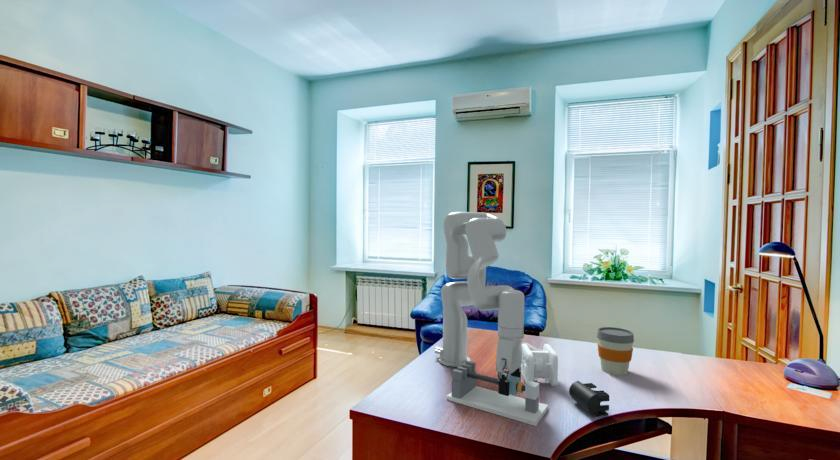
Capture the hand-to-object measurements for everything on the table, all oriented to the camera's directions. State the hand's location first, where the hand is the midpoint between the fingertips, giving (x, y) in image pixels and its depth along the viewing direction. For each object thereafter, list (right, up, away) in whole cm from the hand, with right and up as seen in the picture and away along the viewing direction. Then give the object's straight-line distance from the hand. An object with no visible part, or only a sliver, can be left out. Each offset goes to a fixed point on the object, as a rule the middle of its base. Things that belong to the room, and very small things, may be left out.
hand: (509, 388), depth 118 cm
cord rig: (-4, -6, +2) cm, 7 cm away
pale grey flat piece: (+18, -6, +51) cm, 55 cm away
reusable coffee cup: (+47, -6, +31) cm, 57 cm away
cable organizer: (+14, -6, +21) cm, 26 cm away
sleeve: (0, -1, 0) cm, 1 cm away
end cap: (+24, -6, 0) cm, 24 cm away
